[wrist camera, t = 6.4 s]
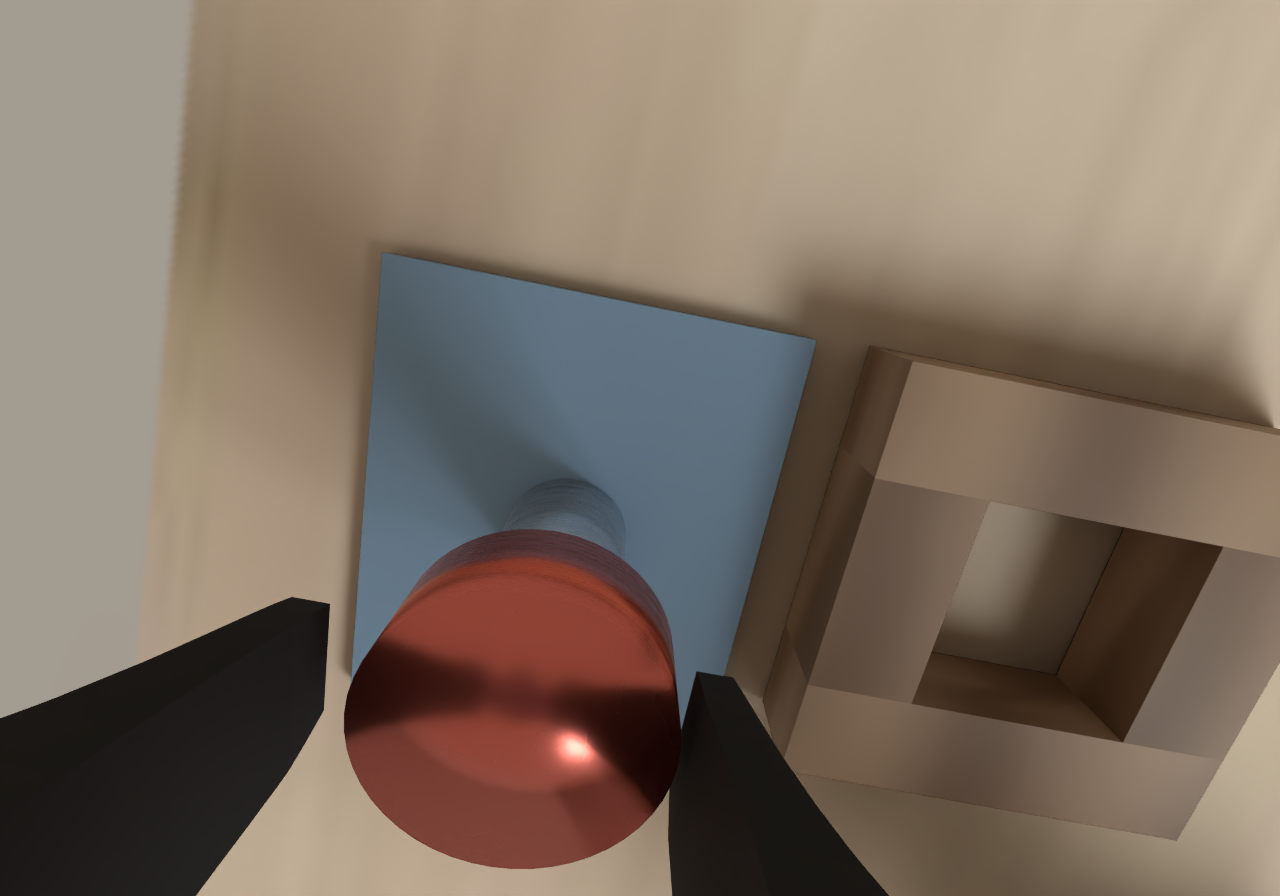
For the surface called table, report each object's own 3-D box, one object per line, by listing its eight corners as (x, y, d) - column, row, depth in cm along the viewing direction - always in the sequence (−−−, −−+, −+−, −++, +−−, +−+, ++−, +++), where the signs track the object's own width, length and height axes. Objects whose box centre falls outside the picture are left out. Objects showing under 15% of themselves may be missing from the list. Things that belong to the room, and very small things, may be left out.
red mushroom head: (680, 464, 15) (716, 626, 8) (640, 632, 16) (643, 889, 10) (484, 426, 15) (356, 561, 8) (460, 600, 16) (333, 843, 9)
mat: (811, 338, 14) (816, 340, 14) (699, 745, 18) (700, 759, 17) (391, 252, 14) (382, 252, 14) (358, 684, 18) (349, 696, 17)
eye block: (1277, 428, 15) (1397, 459, 12) (1106, 763, 18) (1176, 840, 15) (870, 345, 14) (912, 361, 12) (762, 700, 17) (780, 770, 15)
